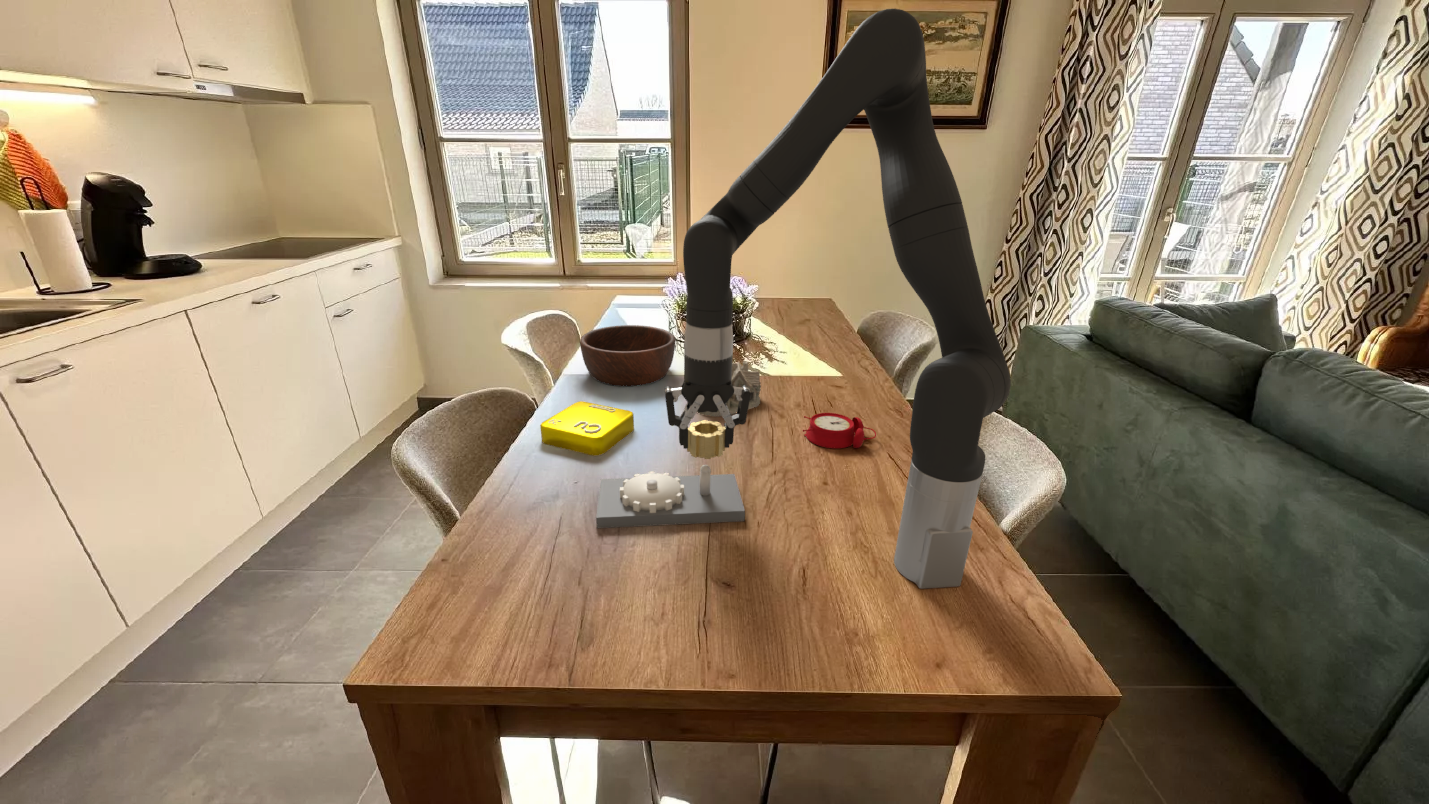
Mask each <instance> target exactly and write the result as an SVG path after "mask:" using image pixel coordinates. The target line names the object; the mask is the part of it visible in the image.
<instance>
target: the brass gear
mask: <svg viewBox="0 0 1429 804" xmlns="http://www.w3.org/2000/svg"><path fill="white" fill-rule="evenodd" d="M725 451H726V448H725V427H724V426H723V425H722V424H721V422H718V421H712V420H709V421H708V419H704V420H701V421H697V422H695V421H693V422H690V423H689V426H688V449H686V452H687V453H689V454H690V455H691V457H693V458H700V459H704V460H711V459H712V458H716V457H718V458H719V457H722V456H723V452H725Z"/></svg>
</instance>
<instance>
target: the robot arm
mask: <svg viewBox="0 0 1429 804" xmlns="http://www.w3.org/2000/svg"><path fill="white" fill-rule="evenodd" d="M924 39H925V38H924V34H923V31H922V28H921V25H920V23H919V21H918V20H917V19H916V17H915V16H913V15H912V14H911V13H909V12H908V11H905V10H904V9H900V8H886V9H882V10H879V11H877V12H875V13H873V14H871V15H870V16H868V17H867V18H866V19H865V20H862V22H861V23H860V24H859V25H858V27H856V29H855V30H854V32H853V33H852V34H851V36H850V37H849V39H848V40H847V42H846V43H845V44H844V45H843V47H842V49H841V50H840V52H839V53H838V54H837V56H836V58H835V59H834V61H833V62H832V64H831V65H830V67H829V68H828V69H827V71H826V72H825V74H824V75H823V77H822V78H821V79H820V80H819V81H818V83H817V85H816V86H815V87H814V89H813V90H812V91H811V92H810V94H809V95H808V96H807V98H806V99H805V100H804V102H803V103H802V104H801V105H800V107H799V108H798V109H797V111H796V112H795V114H794V115H792V117H791V118H790V119H789V121H788V122H787V123H786V124H785V125H784V126H783V128H782V129H781V130H780V131H779V132H778V133H777V135H776V136H775V137H774V138H773V139H772V140H771V141H770V142H769V144H767V146H766V147H765V148H764V149H762V151H761V152H760V153H759V154H758V155H757V156H756V157H755V159H754V160H752V162H751V163H750V164H749V165H748V166H746V168H745V169H744V170H743V171H742V172H741V173H740V174H739V175H738V177H737V178H736V179H735V180H734V181H733V182H732V183H731V185H730V187H729V188H728V190H727V192H726V193H725V195H724V196H722V197H721V198H720V199H719V200H718V201H717V203H715V204H714V205H713V206H712V208H710V210H709V211H708V212H706V213H705V215H702V217H701V218H700V219H699V220H697V221H696V222H694V223H693V224H692V225H691V226H689V228H688V229H687V230H686V233H685V236H684V240H683V249H682V250H683V251H682V258H683V259H682V260H683V270H684V277H685V287H686V305H685V306H686V308H685V309H686V311H685V313H686V314H685V315H686V316H685V317H686V320H685V322H686V323H685V332H684V343H683V349H684V352H683V353H684V358H683V359H684V360H683V363H684V364H683V367H684V368H683V369H684V370H683V371H684V372H683V373H684V374H683V384H682V385H681V386H680V387H674V388H673V387H671V386H670V385H669V386H666V387H665V388H664V397H665V406H666V414H667V420H668V425H669V426H671V427H673V426H675V427H678V440H679V445H680V446H683V449H685V450H687V449H688V428H689V425H690V424H691V421H692V419H693V418H695V416H696V414H698V413H702V412H707V411H709V412H717V411H720V413H721V415H722V416H721V417H722V419H723V420H724V423H723V427H725V449H726V448H727V449H729V448H730V445H733V443H734V433H735V427H736V426H737V425H742V426H743V425H745V424H746V423H747V417H748V411H749V409H748V407H749V401H750V396H751V393H750V390H749V388H748V386H746V385H744V386H742V387H733V385H732V382H731V379H732V363H733V353H734V333H733V331H734V330H733V313H734V312H733V309H734V295H733V290H732V288H731V279H732V278H731V277H732V259H733V255H734V254H735V253H736V252H737V250H738V249H739V248H740V247H741V246H742V245H743V244H744V243H745V242H746V241H747V239H748V238H749V237H750V236H751V235H752V234H753V233H754V232H755V231H756V229H758V227H759V226H761V225H762V224H764V223H766V221H768V220H769V219H770V218H771V217H772V216H774V214H775V213H776V212H777V211H779V210H780V209H781V208H782V206H784V205H785V204H786V202H788V200H789V199H791V197H793V195H795V194H796V192H797V191H798V190H799V189H800V188H801V186H802V185H803V184H804V183H805V182H806V180H807V179H808V178H809V176H810V175H811V174H812V172H813V171H814V170H815V168H816V166H818V164H819V162H820V160H821V159H822V158H823V157H824V154H825V153H826V152H827V150H828V149H829V148H830V146H831V145H832V143H833V142H834V141H835V140H836V139H837V137H838V136H839V135H840V134H841V133H842V131H844V129H845V128H846V127H847V126H848V125H850V123H851V122H852V121H853V120H854V119H855V118H856V117H857V116H858V115H859V114H860V113H862V112H863V111H864V114H865V116H866V118H867V121H868V125H869V127H870V129H871V133H872V135H873V139H874V141H875V145H876V148H877V153H878V158H879V165H880V177H881V179H880V181H881V191H882V200H883V201H882V202H883V209H884V214H885V220H886V224H887V228H888V232H889V236H890V241H891V244H892V248H893V252H894V256H895V259H896V262H897V265H898V266H899V270H900V271H901V273H902V274H903V276H904V278H905V279H906V281H907V283H909V285H910V286H911V288H912V289H913V291H914V292H915V293H916V295H917V296H918V298H919V299H920V300H921V301H922V303H923V305H924V306H925V308H926V309H927V311H928V312H929V314H930V317H931V318H932V321H933V324H934V327H935V331H936V333H937V334H936V335H937V337H938V338H937V339H938V343H939V347H940V348H939V349H940V354H941V358H938V359H935V360H934V361H932V362H929V364H927V365H926V366H925V367H924V369H923V370H922V372H921V373H920V375H919V376H918V378H917V383H916V386H915V389H914V390H915V391H914V396H913V403H912V413H911V418H910V428H909V429H910V430H909V442H910V446H911V449H912V453H911V460H910V466H909V472H908V477H907V482H906V488H905V492H904V494H905V495H904V500H903V506H902V511H901V518H900V522H899V527H898V533H897V540H896V546H895V552H894V558H893V563H894V565H895V568H896V570H897V571H898V572H899V573H900V574H901V575H902V577H905V578H906V579H907V580H909V581H911V582H913V583H914V584H916V586H917V587H918V588H919V589H921V590H922V589H937V588H950V587H951V588H952V587H954V588H955V587H960V586H961V584H962V581H963V576H964V570H965V567H966V563H967V559H968V555H969V550H970V547H971V541H972V536H973V534H974V533H973V530H972V529H971V524H972V520H973V516H974V511H975V506H976V503H977V498H978V494H979V490H980V487H981V481H982V478H983V473H984V468H985V464H986V454H985V451H984V450H983V448H982V447H980V445H979V442H980V436H981V430H982V426H983V420H984V418H986V417H988V416H989V415H991V414H992V413H994V412H996V411H998V410H999V409H1000V408H1001V407H1002V406H1003V405H1005V403H1006V401H1007V399H1008V397H1009V395H1010V392H1011V385H1012V384H1011V383H1012V380H1011V375H1010V370H1009V366H1008V364H1007V360H1006V358H1005V354H1004V352H1003V349H1002V346H1001V344H1000V341H999V339H998V336H997V333H996V331H995V328H994V325H993V322H992V319H991V317H990V313H989V311H988V307H987V304H986V301H985V297H984V291H983V286H982V282H981V278H980V274H979V270H978V265H977V263H976V258H975V254H974V250H973V245H972V241H971V235H970V231H969V226H968V222H967V221H968V220H967V216H966V213H965V210H964V206H963V201H962V197H961V195H960V192H959V187H958V185H957V182H956V180H955V176H954V174H953V172H952V168H951V166H950V164H949V161H948V159H947V157H946V156H945V154H944V151H943V149H942V146H941V144H940V141H939V140H938V137H937V133H936V131H935V126H934V122H933V116H932V115H933V114H932V108H931V103H930V97H929V96H930V95H929V89H928V80H927V58H926V48H925V47H926V46H925V45H926V43H925V40H924ZM733 394H735V395H736V398H737V400H738V401H739V403H738V409H737V413H734V414H731V413H730V411H729V409H728V407H727V405H726V403H727V401H728V400H729V399H730V398H731V397H732V395H733ZM680 396H682V397H683V399H685V401H686V404H685V406H684V409H683V411H682V412H681V414H680V415H677V414H676V409H675V403H677V402H678V401H679V397H680ZM697 411H698V413H696V412H697Z"/></svg>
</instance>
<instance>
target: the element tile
mask: <svg viewBox="0 0 1429 804" xmlns="http://www.w3.org/2000/svg"><path fill="white" fill-rule="evenodd" d="M634 420H635V419H634V413H633V411H631V410H628V409H622V408H617V407H613V406H607V405H604V404H597V403H592V402H588V401H583V400H582V401H577V402H576V401H575V402H574V403H572V404H571V405H569V406H567V407H566V408H564V409H563V410H561V411H558V412H557V413H556V414H554V415H553V416H551V417H549V418H547V419H546V420H544V421H542V422H541V423H540V425H539V427H540V435H541V442H542V444H544V445H547V446H552V447H555V448H559V449H562V450H564V449H565V450H568V451H571V452H576V453H580V454H584V455H587V456H588V455H589V456H595V457H597V456H602V455H604V454H606V453H608V451H610V450H611V449H612V448H613V447H615V446H616V445H618V444H619V443H620V442H621V441H622V440H624V439H625V438H626V437H628V436H629V435H630V434H632V433H633V432H634V430H635V424H634V422H635V421H634Z"/></svg>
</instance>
